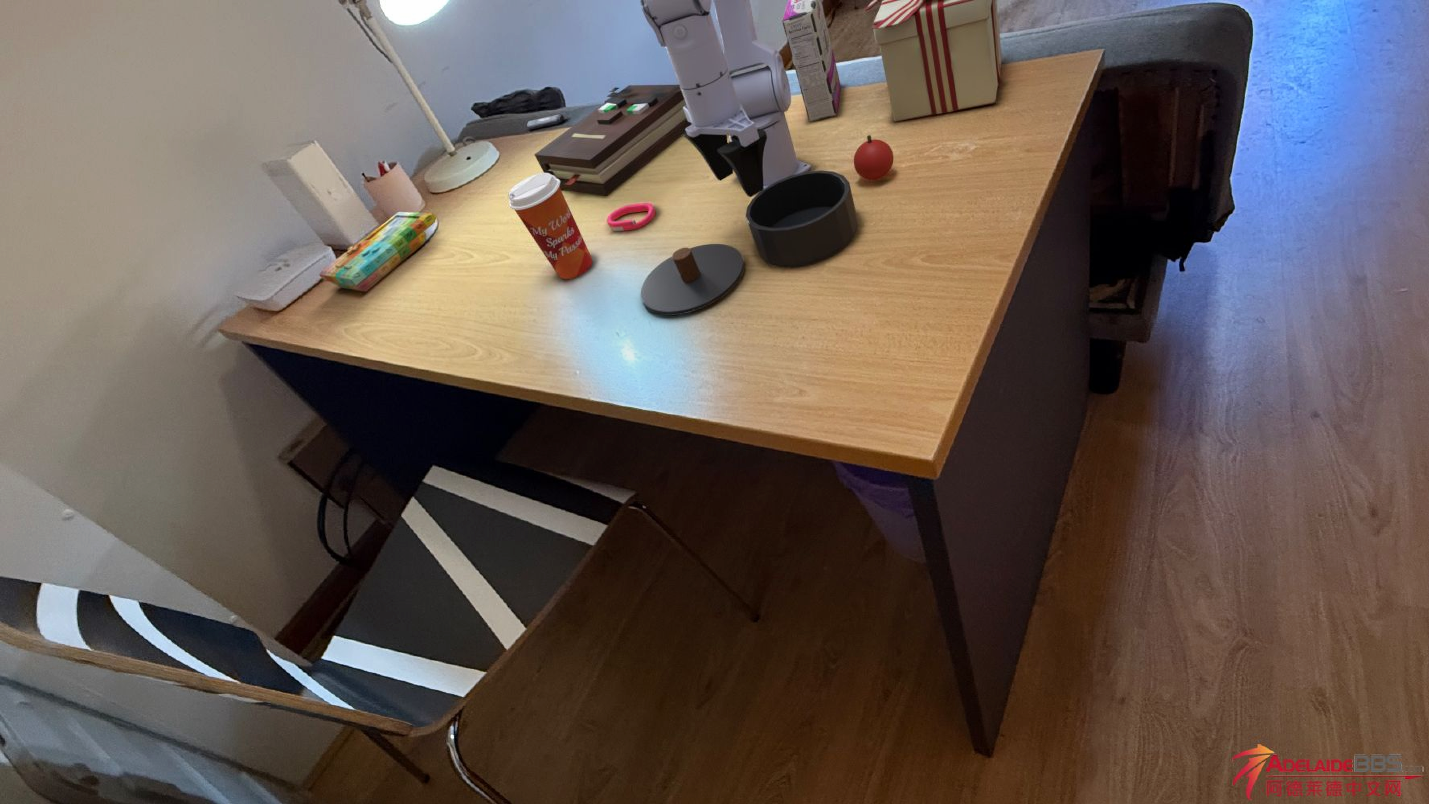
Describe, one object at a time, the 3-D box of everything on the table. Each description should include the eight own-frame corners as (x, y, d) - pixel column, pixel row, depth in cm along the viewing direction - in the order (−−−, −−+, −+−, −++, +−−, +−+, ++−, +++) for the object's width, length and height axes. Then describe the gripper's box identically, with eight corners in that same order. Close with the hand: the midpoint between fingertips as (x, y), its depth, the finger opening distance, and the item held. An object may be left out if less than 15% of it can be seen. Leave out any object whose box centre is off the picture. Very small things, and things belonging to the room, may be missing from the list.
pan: (740, 246, 96) (727, 211, 93) (818, 197, 99) (808, 161, 95) (794, 280, 87) (782, 242, 83) (879, 225, 89) (871, 186, 85)
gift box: (881, 85, 117) (861, -29, 106) (1002, 57, 110) (994, -68, 99) (871, 135, 106) (847, 14, 95) (1005, 108, 99) (997, -27, 88)
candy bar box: (812, 94, 124) (788, -7, 113) (841, 86, 122) (819, -16, 111) (807, 123, 116) (780, 19, 106) (837, 116, 114) (813, 9, 104)
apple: (850, 182, 99) (840, 140, 95) (879, 163, 100) (871, 121, 96) (874, 191, 95) (865, 149, 91) (904, 172, 96) (897, 129, 92)
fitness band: (603, 233, 113) (599, 224, 112) (619, 212, 116) (615, 203, 115) (646, 229, 109) (642, 220, 108) (661, 207, 112) (658, 199, 111)
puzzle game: (315, 270, 130) (396, 207, 140) (332, 291, 133) (411, 228, 143) (347, 275, 123) (430, 209, 133) (364, 296, 126) (444, 230, 136)
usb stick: (527, 131, 162) (524, 125, 161) (532, 125, 163) (529, 119, 162) (560, 124, 157) (557, 117, 156) (566, 118, 159) (562, 112, 158)
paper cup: (561, 290, 104) (512, 207, 95) (546, 271, 110) (499, 191, 101) (607, 263, 105) (562, 178, 96) (590, 246, 111) (547, 164, 102)
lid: (627, 291, 98) (613, 263, 95) (712, 238, 100) (701, 209, 97) (672, 333, 87) (657, 303, 84) (766, 273, 90) (755, 242, 87)
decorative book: (518, 156, 128) (631, 75, 140) (538, 193, 133) (646, 111, 145) (581, 163, 116) (699, 73, 128) (601, 204, 121) (713, 113, 133)
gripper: (648, 83, 85) (688, 184, 94) (703, 105, 74) (742, 217, 83) (697, 56, 86) (732, 158, 95) (758, 73, 75) (791, 187, 84)
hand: (740, 184), depth 89 cm, fingers open, 7 cm apart
